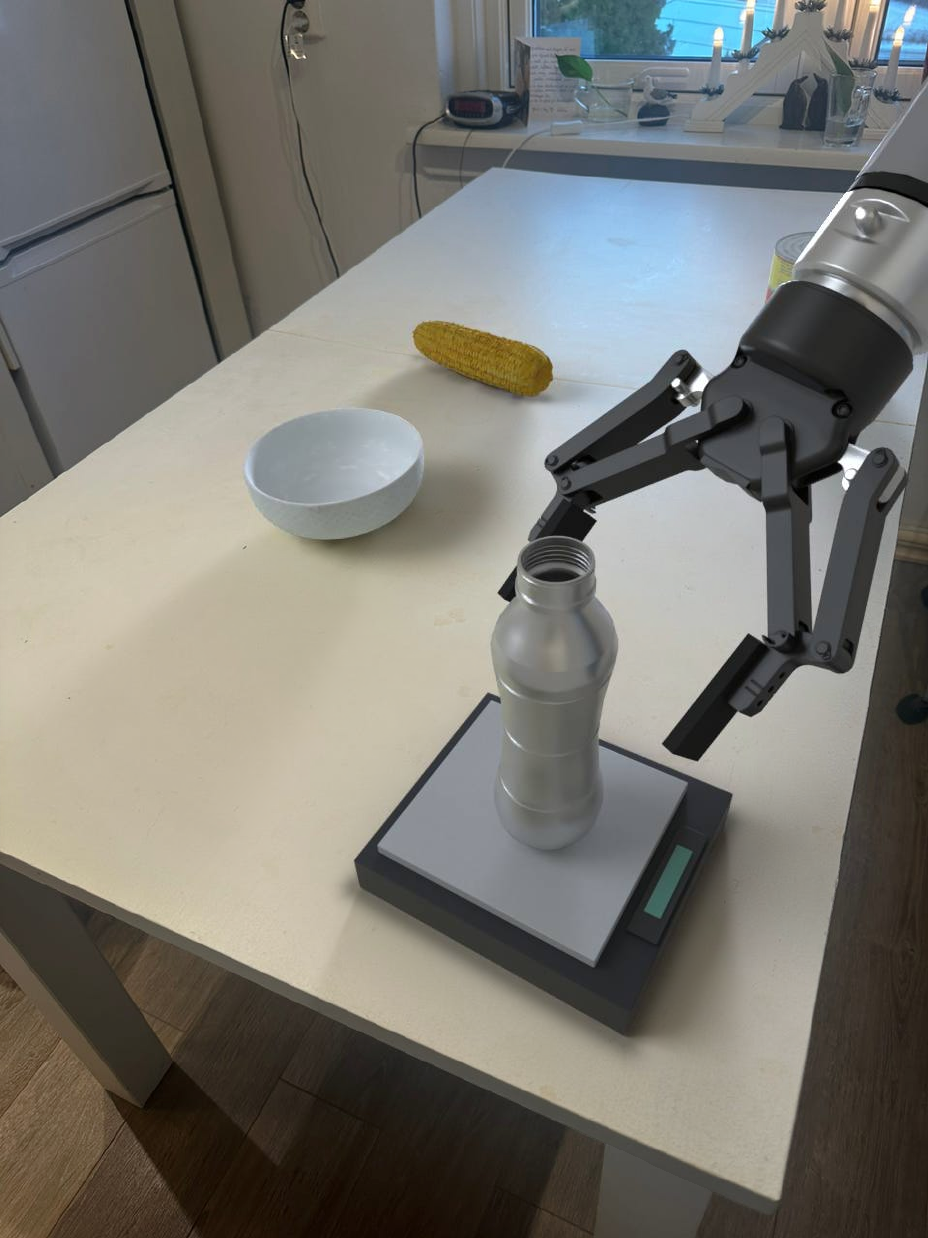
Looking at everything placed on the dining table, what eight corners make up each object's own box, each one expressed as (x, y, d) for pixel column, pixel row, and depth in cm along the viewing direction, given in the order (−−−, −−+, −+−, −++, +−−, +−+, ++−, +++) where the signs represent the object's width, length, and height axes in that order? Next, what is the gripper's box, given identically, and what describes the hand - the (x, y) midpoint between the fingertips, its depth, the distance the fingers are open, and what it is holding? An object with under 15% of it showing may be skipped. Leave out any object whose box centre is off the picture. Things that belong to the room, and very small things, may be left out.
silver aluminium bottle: (473, 832, 53) (456, 575, 40) (531, 758, 57) (534, 503, 44) (566, 884, 50) (581, 626, 37) (620, 802, 54) (652, 543, 41)
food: (559, 392, 102) (560, 343, 98) (528, 411, 99) (528, 361, 95) (429, 344, 113) (425, 299, 109) (398, 360, 110) (393, 314, 106)
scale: (725, 821, 57) (735, 785, 55) (625, 1037, 47) (631, 1005, 45) (489, 719, 65) (487, 683, 62) (359, 887, 55) (351, 853, 52)
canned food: (872, 360, 104) (901, 257, 96) (787, 376, 102) (810, 272, 94) (818, 323, 112) (840, 225, 104) (738, 337, 110) (755, 239, 102)
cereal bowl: (310, 456, 94) (298, 395, 89) (454, 481, 89) (450, 419, 84) (223, 547, 82) (204, 484, 77) (383, 582, 77) (374, 516, 72)
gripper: (638, 210, 47) (421, 535, 51) (1109, 378, 31) (737, 830, 35) (697, 285, 53) (497, 572, 57) (1124, 459, 36) (800, 841, 41)
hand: (588, 671), depth 46 cm, fingers open, 13 cm apart
